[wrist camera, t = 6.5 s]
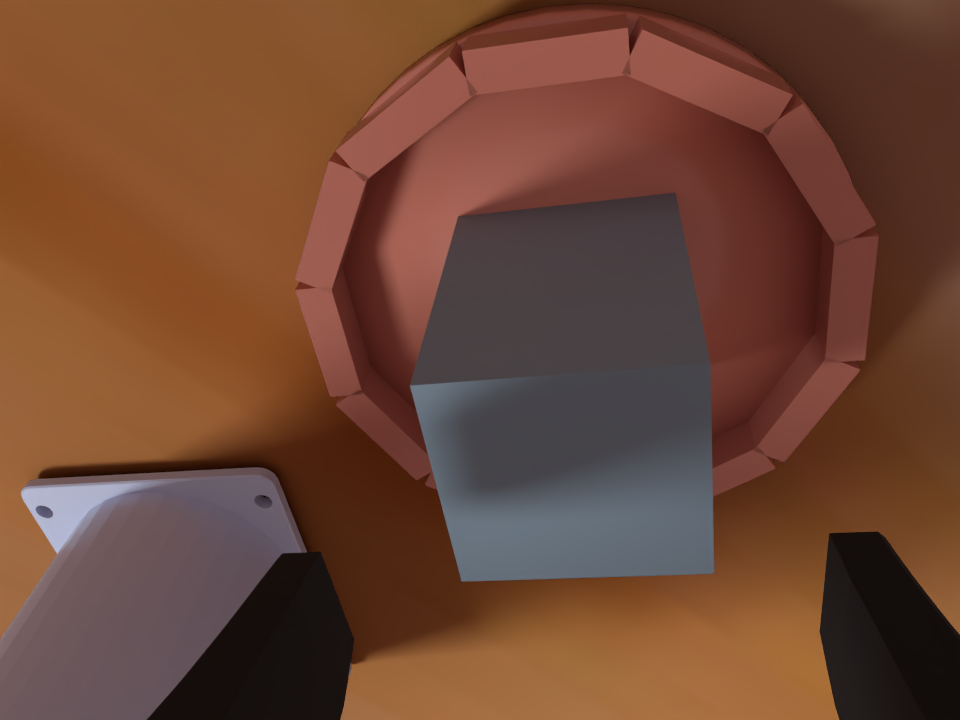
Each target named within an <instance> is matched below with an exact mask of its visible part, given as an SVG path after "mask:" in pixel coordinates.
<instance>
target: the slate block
mask: <svg viewBox="0 0 960 720" xmlns="http://www.w3.org/2000/svg"><path fill="white" fill-rule="evenodd" d="M410 388H411V392H412V395H413V399H414V403H415V407H416V411H417V414H418V418H419V422H420V426H421V430H422V433H423V437H424V441H425V445H426V448H427V452H428V456H429V460H430V464H431V467H432V471H433V475H434V479H435V483H436V486H437V490H438V494H439V498H440V502H441V505H442V509H443V513H444V517H445V520H446V524H447V528H448V532H449V536H450V539H451V543H452V547H453V551H454V555H455V558H456V562H457V566H458V570H459V574H460V577H461V581H462V582H466V581H498V580H530V579H562V578H594V577H626V576H658V575H690V574H714V531H713V475H712V418H711V363H710V358H709V353H708V349H707V344H706V339H705V334H704V329H703V324H702V319H701V314H700V310H699V305H698V300H697V295H696V290H695V285H694V280H693V276H692V271H691V266H690V261H689V256H688V251H687V246H686V242H685V237H684V232H683V227H682V222H681V217H680V212H679V207H678V203H677V198H676V193H667V194H658V195H649V196H640V197H631V198H621V199H612V200H603V201H594V202H585V203H576V204H567V205H558V206H549V207H539V208H530V209H521V210H512V211H503V212H494V213H485V214H476V215H467V216H458V219H457V222H456V226H455V229H454V233H453V236H452V240H451V243H450V247H449V250H448V254H447V257H446V261H445V264H444V268H443V271H442V275H441V278H440V282H439V285H438V289H437V292H436V296H435V299H434V303H433V306H432V310H431V313H430V317H429V320H428V324H427V327H426V331H425V334H424V338H423V342H422V345H421V349H420V352H419V356H418V359H417V363H416V366H415V370H414V373H413V377H412V380H411V384H410Z"/></svg>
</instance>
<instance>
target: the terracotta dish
mask: <svg viewBox="0 0 960 720" xmlns="http://www.w3.org/2000/svg"><path fill="white" fill-rule="evenodd" d="M667 193H676V198H677V203H678V207H679V212H680V217H681V222H682V227H683V232H684V237H685V242H686V246H687V251H688V256H689V261H690V266H691V271H692V276H693V280H694V285H695V290H696V295H697V300H698V305H699V310H700V314H701V319H702V324H703V329H704V334H705V339H706V344H707V349H708V353H709V358H710V363H711V418H712V475H713V497H714V496H717V495H719V494H721V493H723V492H725V491H728V490H730V489H732V488H734V487H736V486H739V485H741V484H743V483H745V482H748V481H750V480H752V479H754V478H756V477H759V476H761V475H763V474H765V473H767V472H770V471H772V470H774V469H776V467H775V463H774V459H776V460H779V461H782V462H785V461H786V460H787V459H788V457H789V456H790V455H791V454H792V453H793V451H794V450H795V449H796V448H797V447H798V445H799V444H800V443H801V442H802V440H803V439H804V438H805V437H806V436H807V434H808V433H809V432H810V431H811V430H812V428H813V427H814V426H815V425H816V423H817V422H818V421H819V420H820V419H821V417H822V416H823V415H824V414H825V413H826V411H827V410H828V409H829V408H830V406H831V405H832V404H833V403H834V402H835V400H836V399H837V398H838V397H839V396H840V394H841V393H842V392H843V391H844V390H845V388H846V387H847V386H848V385H849V383H850V382H851V381H852V380H853V379H854V377H855V376H856V375H857V374H858V373H859V371H860V370H861V369H860V367H859V365H858V363H857V361H860V360H865V356H866V348H867V339H868V330H869V321H870V312H871V303H872V294H873V285H874V276H875V268H876V259H877V250H878V241H879V235H878V233H877V232H876V230H875V229H874V227H873V226H875V225H877V224H876V223H875V221H874V219H873V218H872V216H871V215H870V213H869V211H868V210H867V208H866V206H865V205H864V203H863V201H862V200H861V198H860V196H859V195H858V193H857V192H856V190H855V188H854V187H853V185H852V181H851V178H850V175H849V173H848V171H847V169H846V167H845V165H844V163H843V161H842V159H841V157H840V155H839V153H838V151H837V149H836V147H835V145H834V143H833V142H832V140H831V139H830V137H829V135H828V134H827V132H826V131H825V129H824V128H823V126H822V125H821V123H820V122H819V121H818V119H817V118H816V116H815V115H814V114H813V112H812V111H811V109H810V108H809V107H808V105H807V104H806V102H805V101H804V100H803V98H802V97H801V96H800V95H799V94H798V93H797V92H796V91H795V90H794V89H793V87H792V86H791V85H790V84H789V83H788V82H787V81H786V80H785V79H784V78H783V77H782V76H781V75H780V74H779V73H778V72H777V71H776V70H775V69H773V68H772V67H771V66H769V65H768V64H767V63H765V62H764V61H763V60H761V59H760V58H759V57H757V56H756V55H754V54H753V53H752V52H750V51H749V50H748V49H746V48H745V47H744V46H742V45H740V44H738V43H736V42H734V41H732V40H731V39H729V38H727V37H725V36H723V35H721V34H719V33H717V32H715V31H714V30H712V29H710V28H708V27H705V26H702V25H699V24H696V23H694V22H691V21H688V20H685V19H682V18H680V17H677V16H674V15H671V14H667V13H662V12H657V11H652V10H647V9H642V8H637V7H632V6H622V5H606V4H589V3H588V4H575V5H562V6H549V7H543V8H539V9H534V10H529V11H525V12H520V13H516V14H511V15H507V16H504V17H501V18H499V19H496V20H493V21H491V22H488V23H485V24H482V25H480V26H477V27H474V28H471V29H469V30H467V31H465V32H463V33H462V34H460V35H458V36H456V37H454V38H452V39H450V40H448V41H447V42H445V43H443V44H441V45H439V46H437V47H435V48H434V49H433V50H431V51H430V52H429V53H427V54H426V55H424V56H423V57H422V58H420V59H419V60H418V61H416V62H415V63H414V64H412V65H411V66H409V67H408V68H407V69H405V70H404V71H403V72H402V73H401V74H400V75H399V76H398V77H397V78H396V79H395V80H394V81H393V82H392V83H391V84H390V85H389V86H388V87H387V88H386V89H385V90H384V91H383V92H382V93H381V94H380V95H379V96H378V97H377V99H376V100H375V101H374V102H373V104H372V105H371V106H370V108H369V109H368V110H367V112H366V113H365V114H364V116H363V117H362V118H361V119H360V121H359V122H358V124H357V125H356V126H354V127H353V128H352V129H351V130H350V131H348V132H347V134H346V135H345V137H344V138H343V140H342V141H341V143H340V145H339V146H338V148H337V149H336V151H335V152H334V154H333V155H332V157H331V158H330V160H329V162H328V166H327V169H326V173H325V176H324V180H323V183H322V187H321V190H320V194H319V197H318V201H317V204H316V208H315V211H314V215H313V218H312V222H311V225H310V229H309V232H308V236H307V239H306V243H305V246H304V250H303V253H302V257H301V260H300V264H299V267H298V271H297V274H296V278H295V280H297V281H299V284H298V286H297V288H296V289H295V291H296V294H297V297H298V300H299V303H300V306H301V309H302V312H303V315H304V319H305V322H306V325H307V328H308V331H309V334H310V337H311V340H312V343H313V346H314V349H315V352H316V355H317V358H318V361H319V365H320V368H321V371H322V374H323V377H324V380H325V383H326V386H327V389H328V392H329V395H330V397H334V396H339V397H338V399H337V402H336V404H335V405H336V406H337V407H338V408H339V409H340V410H341V411H342V412H344V413H345V414H346V415H347V416H348V417H349V418H350V419H351V420H352V421H353V422H354V423H355V424H356V425H357V426H359V427H360V428H361V429H362V430H363V431H364V432H365V433H366V434H367V435H368V436H369V437H370V438H371V439H372V440H374V441H375V442H376V443H377V444H378V445H379V446H380V447H381V448H382V449H383V450H384V451H385V452H386V453H387V454H389V455H390V456H391V457H392V458H393V459H394V460H395V461H396V462H397V463H398V464H399V465H400V466H401V467H402V468H404V469H405V470H406V471H407V472H408V473H409V474H410V475H411V476H412V477H413V478H414V479H415V480H418V479H420V478H422V477H424V476H425V475H427V478H426V482H425V486H428V487H431V488H433V489H436V490H437V486H436V483H435V479H434V475H433V471H432V467H431V464H430V460H429V456H428V452H427V448H426V445H425V441H424V437H423V433H422V430H421V426H420V422H419V418H418V414H417V411H416V407H415V403H414V399H413V395H412V392H411V388H410V384H411V380H412V377H413V373H414V370H415V366H416V363H417V359H418V356H419V352H420V349H421V345H422V342H423V338H424V334H425V331H426V327H427V324H428V320H429V317H430V313H431V310H432V306H433V303H434V299H435V296H436V292H437V289H438V285H439V282H440V278H441V275H442V271H443V268H444V264H445V261H446V257H447V254H448V250H449V247H450V243H451V240H452V236H453V233H454V229H455V226H456V222H457V219H458V216H467V215H476V214H485V213H494V212H503V211H512V210H521V209H530V208H539V207H549V206H558V205H567V204H576V203H585V202H594V201H603V200H612V199H621V198H631V197H640V196H649V195H658V194H667ZM773 458H774V459H773Z"/></svg>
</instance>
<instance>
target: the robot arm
mask: <svg viewBox="0 0 960 720" xmlns="http://www.w3.org/2000/svg"><path fill="white" fill-rule="evenodd" d="M261 495H265V496H267V497H269V498H270V499H269V498H265V497H263V496H261ZM21 496H22V498H23V500H24V502H25V504H26V505H27V507H28V508H29V510H30V512H31V513H32V515H33V516H34V518H35V519H36V521H37V523H38V524H39V526H40V527H41V529H42V530H43V532H44V534H45V535H46V537H47V538H48V540H49V542H50V543H51V545H52V546H53V548H54V549H55V551H56V553H57V556H56V557H55V559H54V560H53V561H52V563H51V564H50V566H49V567H48V569H47V570H46V572H45V573H44V575H43V576H42V578H41V579H40V581H39V582H38V584H37V585H36V587H35V588H34V590H33V591H32V593H31V594H30V596H29V597H28V599H27V600H26V602H25V603H24V605H23V606H22V608H21V609H20V611H19V612H18V614H17V615H16V617H15V618H14V620H13V621H12V623H11V624H10V626H9V627H8V629H7V630H6V632H5V633H4V635H3V636H2V637H1V639H0V720H340V718H341V714H342V710H343V707H344V701H345V695H346V689H347V683H348V677H349V676H350V673H351V669H352V665H351V656H352V649H353V642H354V638H353V636H352V633H351V631H350V628H349V625H348V623H347V620H346V617H345V615H344V612H343V610H342V607H341V604H340V602H339V599H338V596H337V594H336V591H335V589H334V586H333V583H332V581H331V578H330V575H329V573H328V570H327V568H326V565H325V562H324V560H323V557H322V555H321V552H307V551H306V548H305V546H304V543H303V541H302V538H301V535H300V533H299V530H298V528H297V525H296V523H295V520H294V518H293V515H292V513H291V510H290V508H289V505H288V503H287V500H286V498H285V495H284V492H283V490H282V487H281V485H280V482H279V480H278V478H277V477H276V475H275V474H274V473H272V472H271V471H270V470H268V469H265V468H259V467H251V468H233V469H214V470H196V471H177V472H159V473H140V474H121V475H103V476H84V477H66V478H47V479H34V480H30V481H29V482H28V483H27V484H26V486H25V487H24V488H23V489H22V492H21ZM820 635H821V640H822V645H823V650H824V655H825V660H826V665H827V670H828V675H829V679H830V684H831V689H832V693H833V698H834V702H835V707H836V710H837V713H838V716H839V719H840V720H960V635H959V634H958V632H957V631H956V630H955V629H954V627H953V626H952V625H951V624H950V623H949V621H948V620H947V619H946V618H945V616H944V615H943V614H942V613H941V611H940V610H939V609H938V608H937V606H936V605H935V604H934V602H933V601H932V600H931V599H930V597H929V596H928V595H927V594H926V592H925V591H924V590H923V588H922V587H921V586H920V584H919V583H918V582H917V581H916V579H915V578H914V577H913V575H912V574H911V573H910V571H909V570H908V569H907V567H906V566H905V564H904V563H903V562H902V560H901V559H900V558H899V556H898V555H897V553H896V552H895V551H894V549H893V548H892V546H891V545H890V544H889V542H888V541H887V539H886V538H885V537H884V536H883V535H881V534H880V533H879V532H855V533H829V542H828V552H827V563H826V573H825V583H824V594H823V604H822V614H821V625H820Z"/></svg>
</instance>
